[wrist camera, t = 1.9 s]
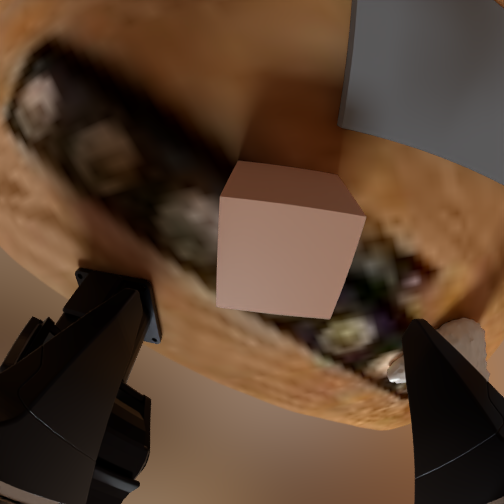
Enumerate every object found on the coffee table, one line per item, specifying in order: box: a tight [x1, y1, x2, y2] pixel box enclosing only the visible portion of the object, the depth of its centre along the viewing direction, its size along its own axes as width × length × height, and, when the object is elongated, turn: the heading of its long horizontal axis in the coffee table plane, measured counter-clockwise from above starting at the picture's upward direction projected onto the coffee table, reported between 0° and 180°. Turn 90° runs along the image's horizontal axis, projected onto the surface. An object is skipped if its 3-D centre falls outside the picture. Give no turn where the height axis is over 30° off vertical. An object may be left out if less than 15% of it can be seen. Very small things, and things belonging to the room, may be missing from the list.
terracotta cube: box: [216, 161, 366, 319], centre depth 12 cm, size 5×5×5 cm
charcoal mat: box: [337, 0, 504, 185], centre depth 8 cm, size 12×14×1 cm
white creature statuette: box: [387, 318, 490, 383], centre depth 15 cm, size 10×9×12 cm
